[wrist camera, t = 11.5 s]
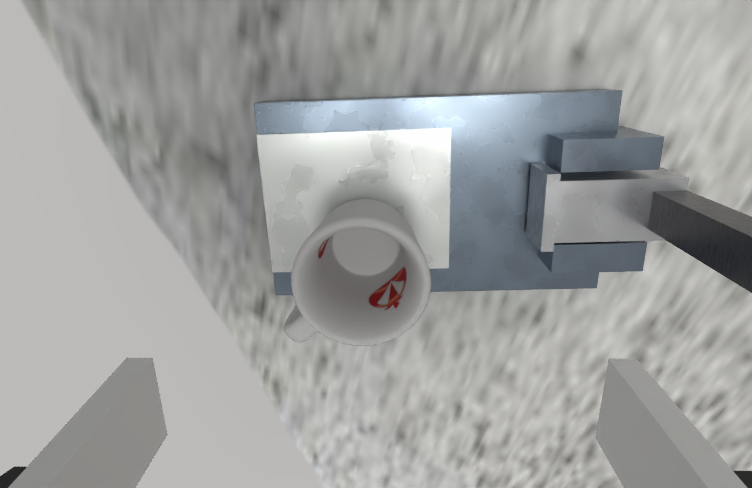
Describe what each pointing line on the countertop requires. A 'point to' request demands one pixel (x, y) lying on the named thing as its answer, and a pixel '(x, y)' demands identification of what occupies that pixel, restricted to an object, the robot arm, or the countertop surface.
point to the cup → (359, 277)
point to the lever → (638, 215)
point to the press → (448, 178)
